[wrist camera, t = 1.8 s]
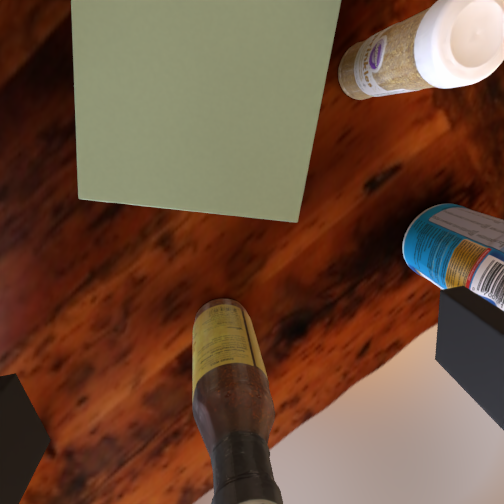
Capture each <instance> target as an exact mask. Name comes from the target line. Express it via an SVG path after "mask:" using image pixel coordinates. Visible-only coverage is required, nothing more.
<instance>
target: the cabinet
mask: <svg viewBox="0 0 504 504" xmlns="http://www.w3.org/2000/svg"><path fill="white" fill-rule="evenodd" d="M340 4H341V0H71V12H72V39H73V66H74V94H75V121H76V148H77V175H78V198H79V199H83V200H93V201H102V202H111V203H120V204H130V205H139V206H148V207H157V208H167V209H176V210H185V211H195V212H204V213H213V214H222V215H232V216H241V217H250V218H259V219H269V220H278V221H287V222H296V223H297V222H298V218H299V213H300V208H301V202H302V197H303V192H304V187H305V182H306V177H307V172H308V167H309V162H310V157H311V152H312V147H313V142H314V136H315V131H316V126H317V121H318V116H319V111H320V106H321V101H322V96H323V91H324V86H325V81H326V76H327V70H328V65H329V60H330V55H331V50H332V45H333V40H334V35H335V30H336V25H337V20H338V15H339V10H340Z"/></svg>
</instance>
